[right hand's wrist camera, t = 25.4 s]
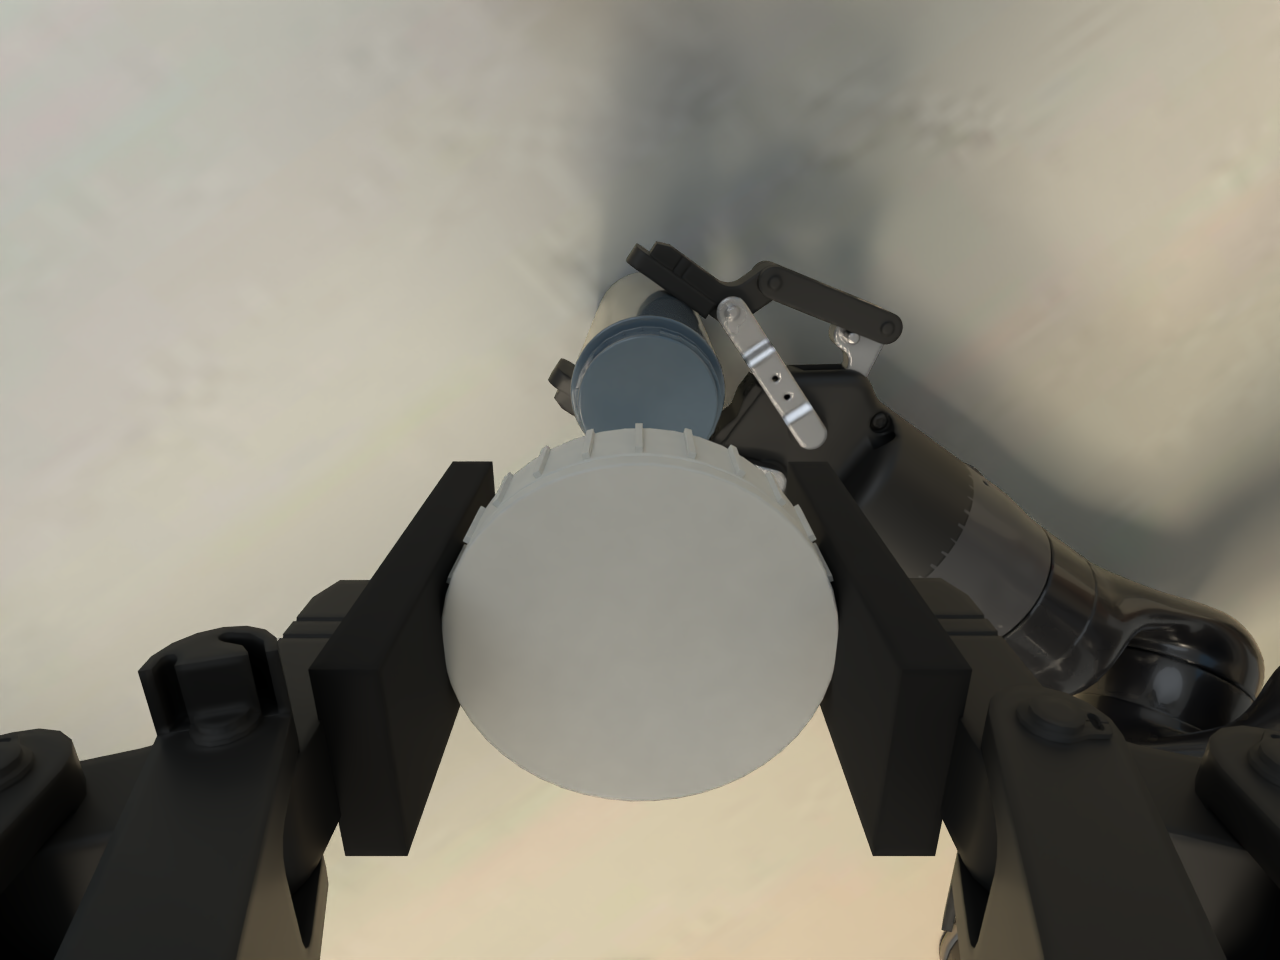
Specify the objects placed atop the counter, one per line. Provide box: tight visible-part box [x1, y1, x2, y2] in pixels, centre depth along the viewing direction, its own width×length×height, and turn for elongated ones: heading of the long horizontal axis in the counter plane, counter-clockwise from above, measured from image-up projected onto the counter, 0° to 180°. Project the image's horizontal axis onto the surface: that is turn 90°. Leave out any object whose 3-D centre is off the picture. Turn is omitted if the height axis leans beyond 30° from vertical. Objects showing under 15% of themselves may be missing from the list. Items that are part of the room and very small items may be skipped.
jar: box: [571, 272, 725, 440], centre depth 29 cm, size 5×5×15 cm
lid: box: [442, 423, 839, 801], centre depth 11 cm, size 6×6×2 cm
